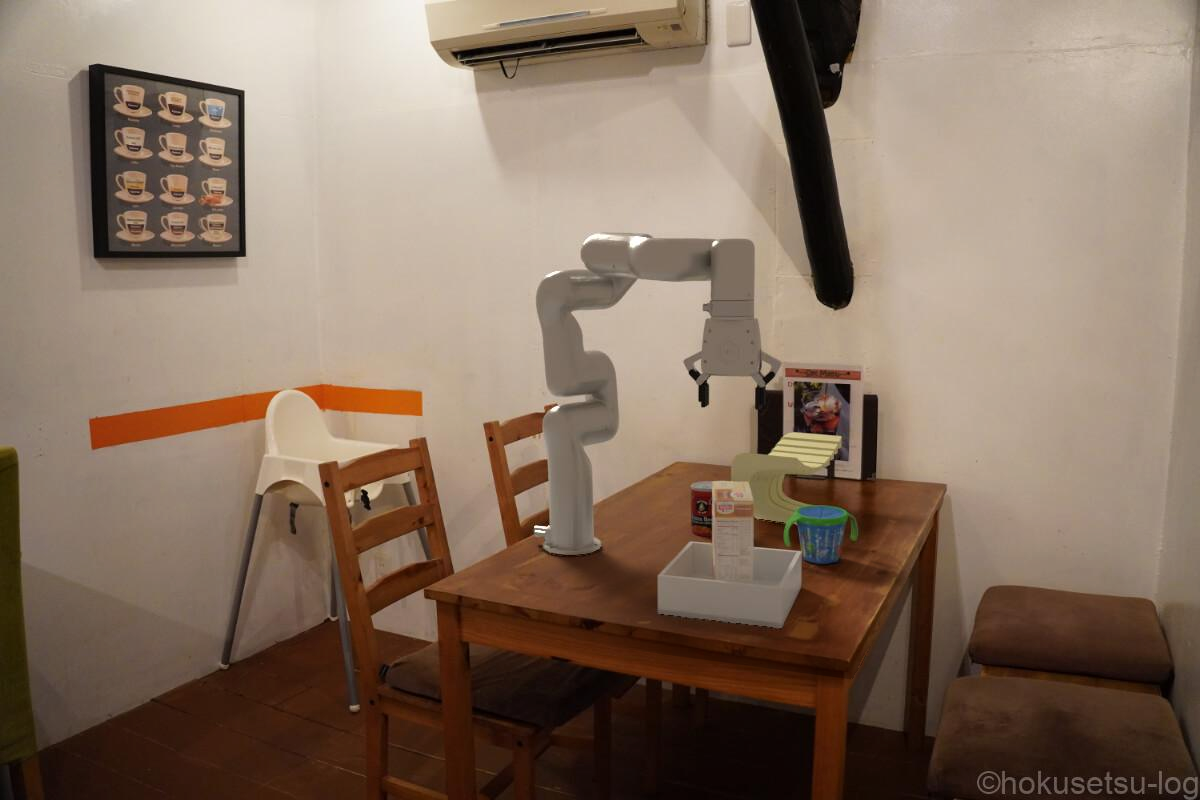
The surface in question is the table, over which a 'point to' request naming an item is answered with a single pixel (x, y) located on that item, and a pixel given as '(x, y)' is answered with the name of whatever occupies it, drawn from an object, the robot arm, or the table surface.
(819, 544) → the snack cup
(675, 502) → the table surface
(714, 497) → the coffeecake box
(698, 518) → the canned food
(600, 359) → the robot arm
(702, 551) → the bin
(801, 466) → the slatted curved stool
